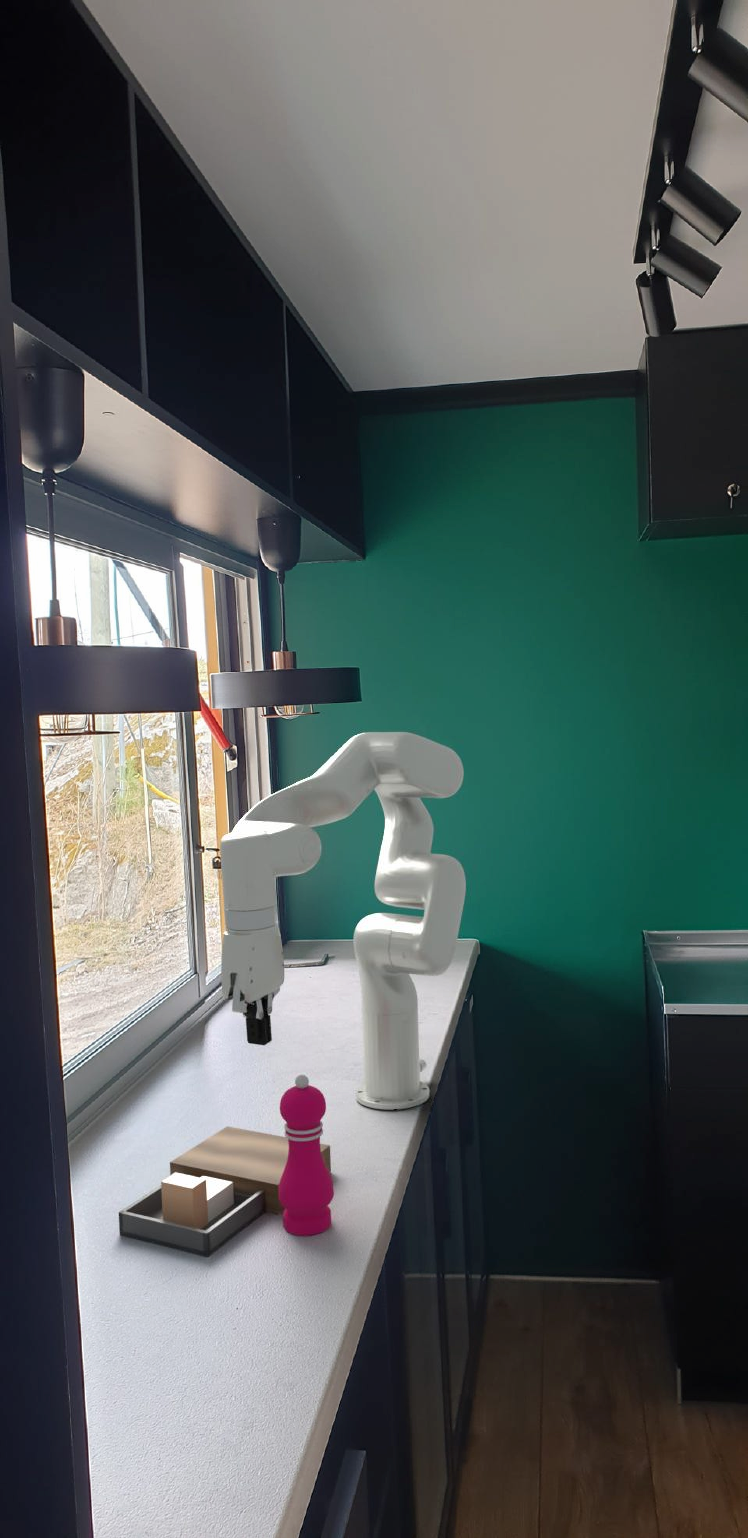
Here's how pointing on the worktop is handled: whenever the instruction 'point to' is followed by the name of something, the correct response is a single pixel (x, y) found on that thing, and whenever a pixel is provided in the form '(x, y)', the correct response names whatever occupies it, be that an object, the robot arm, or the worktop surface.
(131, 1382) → the worktop surface
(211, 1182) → the tile cream
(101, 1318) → the worktop surface
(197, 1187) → the tan rectangular block
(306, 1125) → the pepper mill
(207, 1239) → the bin
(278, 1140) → the walnut block
